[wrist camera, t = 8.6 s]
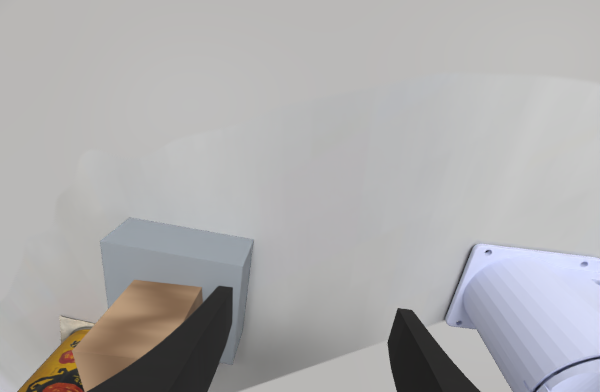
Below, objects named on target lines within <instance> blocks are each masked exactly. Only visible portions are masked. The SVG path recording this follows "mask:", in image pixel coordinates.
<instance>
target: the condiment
mask: <svg viewBox="0 0 600 392" xmlns="http://www.w3.org/2000/svg"><path fill="white" fill-rule="evenodd" d="M59 319H60V328H61V331H60V333H61V345H60V346H59V347H58V348H57V349H56V350H55V351H54V352H53V353H52V354H51V355H50V357H49V358H48V359H47V360H46V361H45V362H44V363H43V364H42V365H41V366H40V367H39V368H38V369H37V371H36V372H35V373H34V374H33V375H32V376H31V377H30V378H29V379H28V380H27V381H26V383H25V384H24V385H23V386H22V387H21V388H20V389H19V390H18V391H17V392H85V391H84V388H83V385H82V382H81V379H80V375H79V372H78V369H77V366H76V363H75V359H74V356H73V353H72V350H73V349H74V348H75V347H76V346H77V344H78V343H79V342H80V341H81V340H82V339H83V338H84V336H85V335H86V334H87V333H88V332H89V331H90V330H91V328H92V327H93V326H94V325H95V324H93V323H89V322H85V321H79V320H74V319H70V318H66V317H62V316H59Z"/></svg>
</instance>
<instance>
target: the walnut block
mask: <svg viewBox="0 0 600 392" xmlns="http://www.w3.org/2000/svg"><path fill="white" fill-rule="evenodd" d="M202 303H203V297H202V287H196V286H187V285H178V284H169V283H160V282H151V281H142V280H133V281H132V283H131V284H130V285H129V286H128V287H127V288H126V289H125V291H124V292H123V293H122V294H121V295H120V296H119V298H118V299H117V300H116V301H115V302H114V303H113V304H112V306H111V307H110V308H109V309H108V310H107V311H106V312H105V314H104V315H103V316H102V317H101V318H100V319H99V320H98V322H97V323H96V324H95V325H94V326H93V327H92V328H91V330H90V331H89V332H88V333H87V334H86V335H85V336H84V338H83V339H82V340H81V341H80V342H79V343H78V344H77V346H76V347H75V348H74V349H73V350H72V353H73V356H74V359H75V363H76V366H77V369H78V372H79V375H80V379H81V382H82V385H83V388H84V391H85V392H87V391H88V390H90V389H92V388H94V387H95V386H97V385H99V384H100V383H102V382H104V381H105V380H107V379H109V378H110V377H112V376H114V375H115V374H117V373H118V372H120V371H122V370H123V369H125V368H126V367H128V366H129V365H131V364H132V363H133V362H135V361H136V360H138V359H139V358H140V357H142V356H143V355H145V354H146V353H147V352H149V351H150V350H151V349H152V348H154V347H155V346H156V345H158V344H159V343H160V342H161V341H163V340H164V339H165V338H166V337H167V336H168V335H170V334H171V333H172V332H173V331H174V330H175V329H176V328H177V327H179V326H180V325H181V324H182V323H183V322H184V321H185V320H186V319H187V318H188V317H189V316H190V315H191V314H192V313H193V312H194V311H195V310H196V309H197V308H198V307H199V306H200V305H201V304H202Z"/></svg>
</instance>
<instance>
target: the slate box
mask: <svg viewBox="0 0 600 392" xmlns="http://www.w3.org/2000/svg"><path fill="white" fill-rule="evenodd" d="M253 240H254V239H248V238H242V237H237V236H231V235H226V234H220V233H214V232H209V231H203V230H197V229H192V228H186V227H181V226H175V225H169V224H164V223H158V222H153V221H147V220H141V219H136V218H129V219H127V220H126V221H125V222H123V223H122V224H121V225H120V226H118V227H117V228H116V229H115V230H113V231H112V232H111V233H110V234H108V235H107V236H106V237H105V238H103V239H102V240H101V241H100V246H101V254H102V262H103V270H104V278H105V287H106V295H107V303H108V309H109V308H110V307H111V306H112V304H113V303H114V302H115V301H116V300H117V299H118V298H119V296H120V295H121V294H122V293H123V292H124V291H125V289H126V288H127V287H128V286H129V285H130V284H131V283H132V281H133V280H142V281H151V282H160V283H169V284H178V285H187V286H196V287H202V297H203V302H204V301H205V300H206V299H207V298H208V297H209V295H210V294H211V293H212V292H213V291H214V290H215V289H216V288H217V287H218V286H226V287H233V316H232V326H231V329H230V333H229V337H228V340H227V344H226V347H225V349H224V352H223V354H222V357H221V359H220V362H219V363H225V364H231V365H232V364H233V361H234V358H235V354H236V351H237V348H238V344H239V341H240V338H241V334H242V331H243V324H244V316H245V307H246V299H247V290H248V282H249V274H250V265H251V257H252V249H253Z"/></svg>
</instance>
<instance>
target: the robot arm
mask: <svg viewBox="0 0 600 392" xmlns="http://www.w3.org/2000/svg"><path fill="white" fill-rule="evenodd" d="M486 250H489V251H488V252H487V253H485V251H486ZM582 262H583V263H582ZM232 316H233V287H226V286H218V287H217V288H216V289H215V290H214V291H213V292H212V293H211V294H210V295H209V297H208V298H207V299H206V300H205V301H204V302H203V303H202V304H201V305H200V306H199V307H198V308H197V309H196V310H195V311H194V312H193V313H192V314H191V315H190V316H189V317H188V318H187V319H186V320H185V321H184V322H183V323H182V324H181V325H180V326H179V327H177V328H176V329H175V330H174V331H173V332H172V333H171V334H170V335H168V336H167V337H166V338H165V339H164V340H163V341H161V342H160V343H159V344H158V345H156V346H155V347H154V348H152V349H151V350H150V351H149V352H147V353H146V354H145V355H143V356H142V357H140V358H139V359H138V360H136V361H135V362H133V363H132V364H131V365H129V366H128V367H126V368H125V369H123V370H122V371H120V372H118V373H117V374H115V375H114V376H112V377H110V378H109V379H107V380H105V381H104V382H102V383H100V384H99V385H97V386H95V387H94V388H92V389H90V390H88V391H87V392H207V391H208V389H209V387H210V384H211V382H212V379H213V377H214V374H215V372H216V369H217V367H218V364H219V362H220V359H221V357H222V354H223V352H224V349H225V347H226V344H227V340H228V337H229V333H230V329H231V326H232ZM445 320H446V323H447V324H448V325H449V326H454V327H462V328H470V329H477V331H478V333H479V334H480V336H481V338H482V339H483V341H484V343H485V345H486V346H487V348H488V350H489V352H490V353H491V355H492V357H493V358H494V360H495V362H496V364H497V365H498V367H499V369H500V371H501V372H502V374H503V376H504V377H505V379H506V381H507V383H508V384H509V386H510V388H511V389H512V391H513V392H600V258H596V257H588V256H579V255H571V254H563V253H555V252H546V251H538V250H530V249H522V248H513V247H505V246H497V245H488V244H477V245H475V246H474V247H473V249H472V251H471V254H470V256H469V259H468V262H467V264H466V267H465V269H464V272H463V274H462V277H461V280H460V282H459V285H458V287H457V290H456V292H455V295H454V298H453V300H452V303H451V305H450V308H449V310H448V313H447V316H446V318H445ZM457 321H458V322H457ZM388 350H389V358H390V364H391V370H392V373H393V378H394V382H395V386H396V390H397V392H480V391H479V390H478V389H477V388H476V387H475V386H474V385H473V384H472V382H471V381H470V380H469V379H468V378H467V377H466V376H465V375H464V374H463V373H462V372H461V370H460V369H459V368H458V367H457V366H456V365H455V364H454V363H453V361H452V360H451V359H450V358H449V357H448V356H447V354H446V353H445V352H444V351H443V350H442V348H441V347H440V346H439V345H438V343H437V342H436V341H435V339H434V338H433V337H432V335H431V334H430V333H429V332H428V330H427V329H426V328H425V326H424V325H423V324H422V322H421V321H420V320H419V318H418V317H417V316H416V314H415V313H414V312H413V311H412V310H408V309H400V308H398V309H397V313H396V316H395V319H394V323H393V326H392V329H391V333H390V336H389V339H388Z"/></svg>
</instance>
